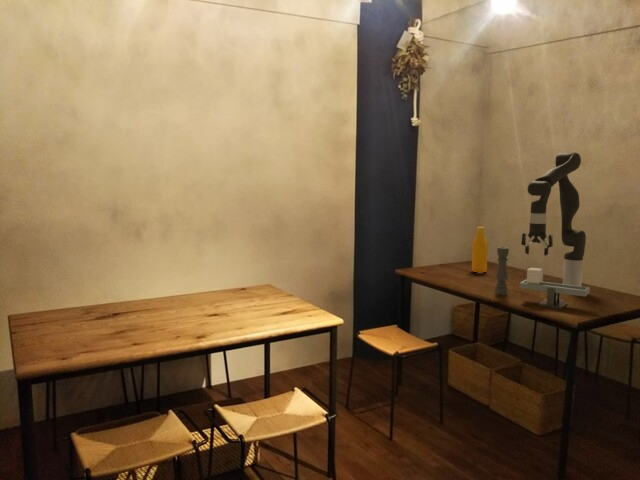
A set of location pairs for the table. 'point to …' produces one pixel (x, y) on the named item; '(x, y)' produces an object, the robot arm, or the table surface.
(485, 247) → the beer bottle
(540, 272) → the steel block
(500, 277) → the candle holder
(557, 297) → the pivot stand
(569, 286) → the beam
